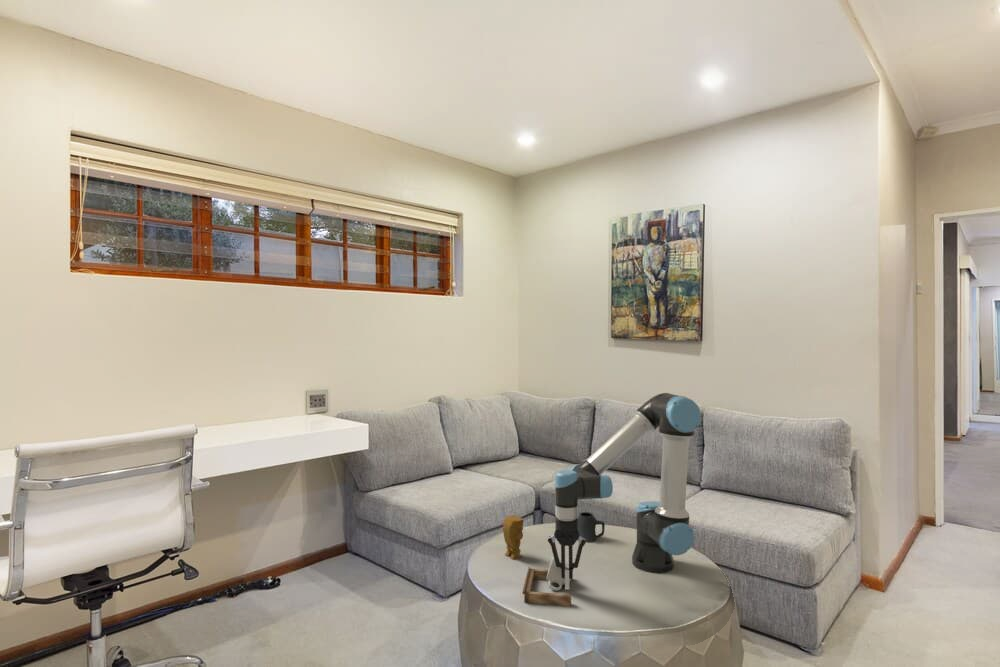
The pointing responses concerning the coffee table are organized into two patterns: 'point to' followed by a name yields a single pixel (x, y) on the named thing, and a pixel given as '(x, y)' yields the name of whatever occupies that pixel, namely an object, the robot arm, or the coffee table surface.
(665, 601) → the coffee table surface
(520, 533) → the figurine
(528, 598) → the brown wooden open frame
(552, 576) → the cup
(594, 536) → the mug
